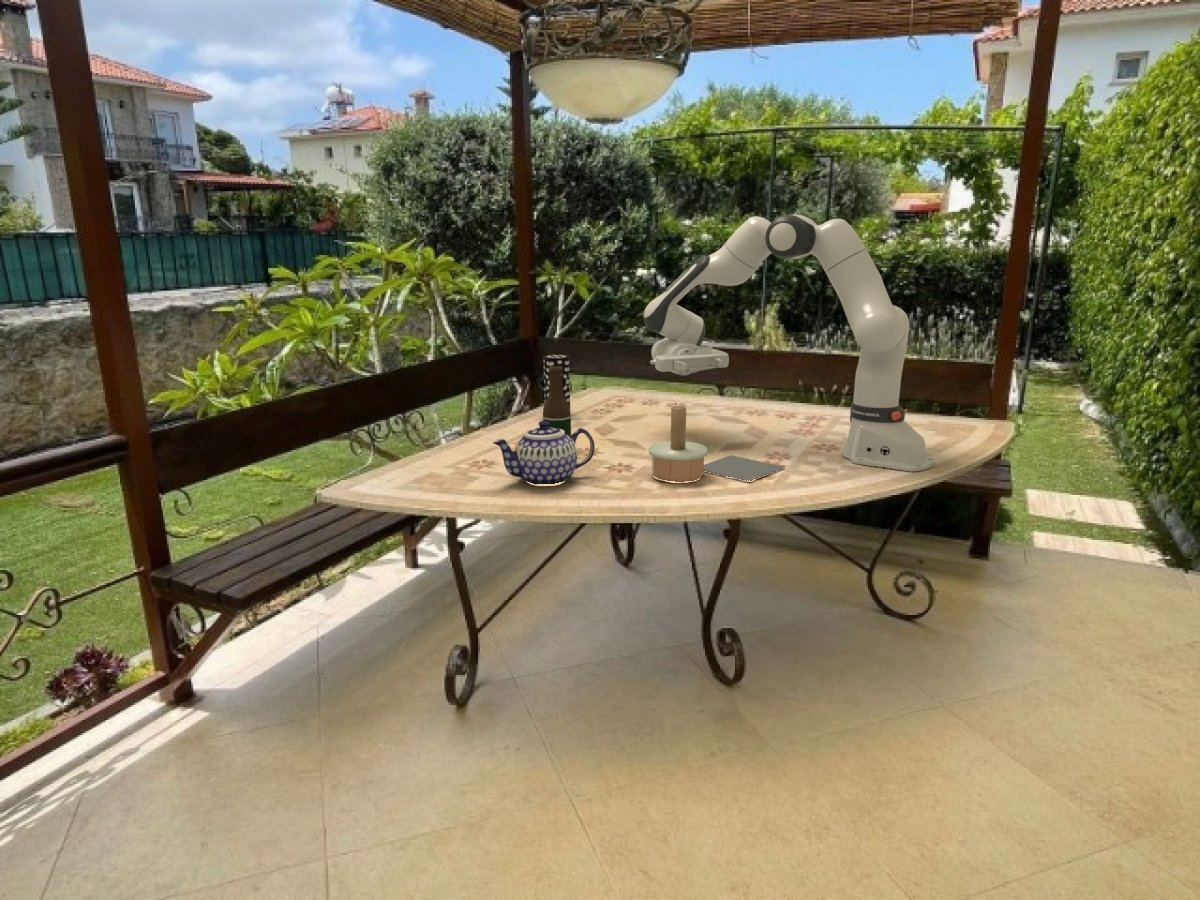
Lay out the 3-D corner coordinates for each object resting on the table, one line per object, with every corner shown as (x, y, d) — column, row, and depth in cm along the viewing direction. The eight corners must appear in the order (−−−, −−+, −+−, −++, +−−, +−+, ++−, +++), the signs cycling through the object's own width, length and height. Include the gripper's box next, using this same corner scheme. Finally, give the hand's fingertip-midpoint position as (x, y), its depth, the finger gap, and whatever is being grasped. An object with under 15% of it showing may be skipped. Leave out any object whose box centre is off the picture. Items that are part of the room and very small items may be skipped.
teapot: (585, 467, 189) (585, 410, 185) (605, 484, 175) (605, 423, 172) (487, 477, 181) (485, 417, 177) (500, 495, 168) (498, 431, 164)
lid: (718, 451, 180) (720, 407, 177) (683, 463, 170) (684, 416, 167) (673, 441, 189) (673, 399, 186) (636, 452, 179) (637, 408, 176)
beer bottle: (575, 452, 202) (574, 365, 196) (566, 460, 195) (565, 369, 189) (548, 451, 204) (546, 364, 198) (538, 458, 197) (536, 368, 191)
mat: (784, 468, 186) (784, 466, 186) (749, 483, 175) (749, 481, 175) (730, 457, 197) (731, 455, 197) (694, 470, 186) (694, 468, 186)
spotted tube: (542, 415, 247) (540, 355, 242) (566, 413, 249) (565, 354, 244) (548, 420, 239) (546, 358, 234) (573, 418, 242) (572, 357, 237)
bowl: (712, 475, 181) (712, 451, 180) (681, 487, 173) (682, 462, 171) (673, 466, 189) (673, 443, 188) (642, 476, 181) (642, 452, 179)
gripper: (647, 350, 204) (666, 355, 191) (715, 345, 210) (738, 350, 197) (647, 372, 206) (666, 380, 193) (715, 367, 212) (737, 374, 199)
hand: (703, 365), depth 195 cm, fingers open, 8 cm apart
